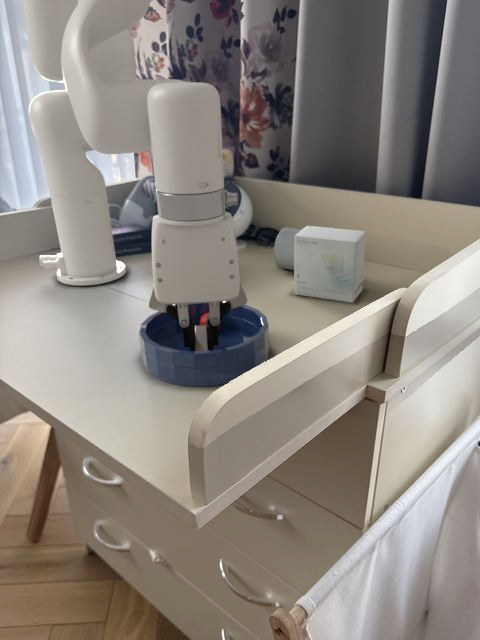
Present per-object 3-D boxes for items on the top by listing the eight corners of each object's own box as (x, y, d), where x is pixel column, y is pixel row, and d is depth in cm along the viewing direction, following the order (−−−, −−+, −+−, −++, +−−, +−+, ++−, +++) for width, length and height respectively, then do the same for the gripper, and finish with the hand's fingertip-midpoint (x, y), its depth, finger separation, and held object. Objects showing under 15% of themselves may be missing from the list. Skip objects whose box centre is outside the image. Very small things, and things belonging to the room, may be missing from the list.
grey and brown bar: (209, 372, 66) (208, 354, 65) (196, 373, 66) (194, 355, 65) (208, 341, 74) (207, 324, 73) (196, 341, 74) (195, 325, 73)
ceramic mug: (312, 278, 99) (313, 237, 95) (272, 272, 102) (272, 231, 99) (334, 263, 107) (336, 224, 104) (297, 257, 111) (297, 220, 107)
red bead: (194, 324, 75) (213, 335, 75) (205, 306, 76) (224, 317, 76) (196, 328, 78) (214, 339, 78) (206, 311, 79) (224, 321, 79)
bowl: (138, 391, 65) (133, 358, 63) (148, 332, 80) (145, 304, 78) (275, 381, 66) (275, 348, 64) (261, 325, 81) (260, 297, 79)
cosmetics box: (292, 295, 92) (293, 234, 87) (305, 283, 97) (306, 224, 92) (353, 304, 88) (357, 240, 83) (363, 290, 93) (367, 230, 88)
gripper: (257, 195, 65) (260, 334, 73) (124, 200, 64) (142, 341, 72) (264, 210, 58) (266, 360, 67) (115, 215, 57) (136, 368, 65)
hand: (201, 349), depth 69 cm, fingers closed on grey and brown bar, 1 cm apart
